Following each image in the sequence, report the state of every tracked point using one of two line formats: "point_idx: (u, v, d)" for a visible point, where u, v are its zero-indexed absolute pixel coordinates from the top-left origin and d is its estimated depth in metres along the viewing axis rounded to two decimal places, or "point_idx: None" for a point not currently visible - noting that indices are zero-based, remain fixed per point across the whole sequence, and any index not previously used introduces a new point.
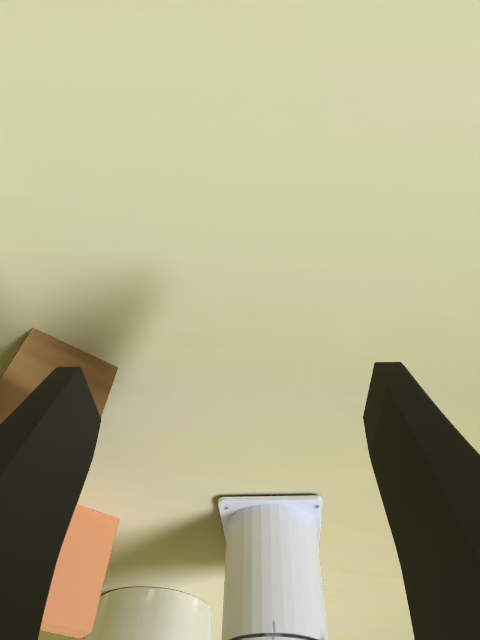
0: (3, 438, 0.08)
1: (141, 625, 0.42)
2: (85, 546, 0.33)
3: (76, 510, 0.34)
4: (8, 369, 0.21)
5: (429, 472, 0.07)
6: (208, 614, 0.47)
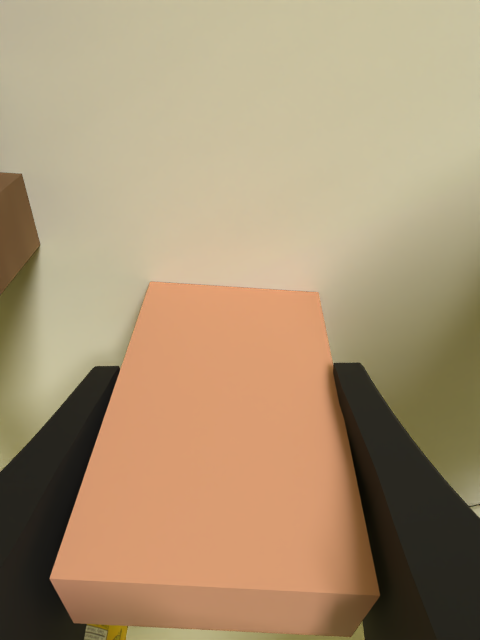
0: (51, 438, 0.08)
1: None
2: (246, 352, 0.11)
3: (193, 293, 0.12)
4: None
5: (373, 473, 0.07)
6: None
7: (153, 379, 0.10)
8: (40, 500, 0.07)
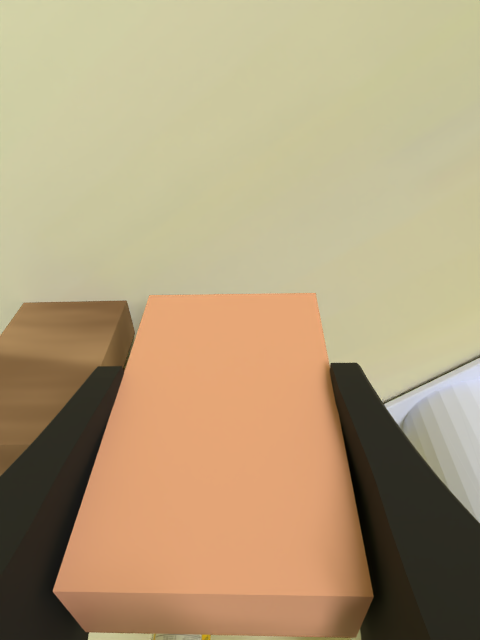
0: (55, 438, 0.08)
1: None
2: (242, 358, 0.11)
3: (191, 303, 0.13)
4: None
5: (369, 473, 0.07)
6: None
7: (152, 392, 0.10)
8: (44, 500, 0.07)
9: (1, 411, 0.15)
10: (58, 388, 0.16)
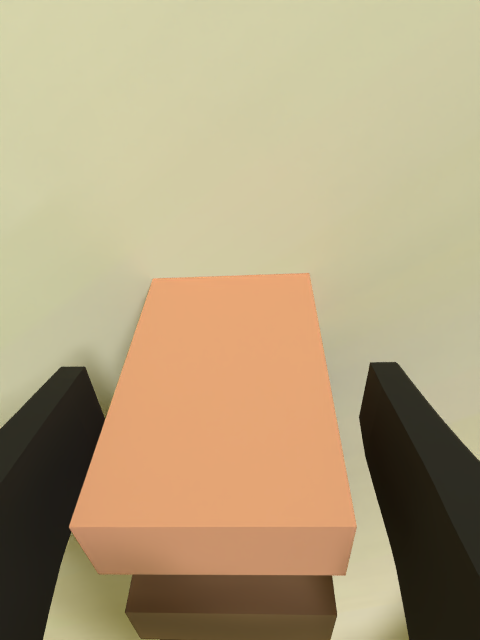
0: (8, 438, 0.08)
1: None
2: (240, 331, 0.11)
3: (192, 284, 0.13)
4: None
5: (424, 472, 0.07)
6: None
7: (156, 362, 0.11)
8: None
9: None
10: None
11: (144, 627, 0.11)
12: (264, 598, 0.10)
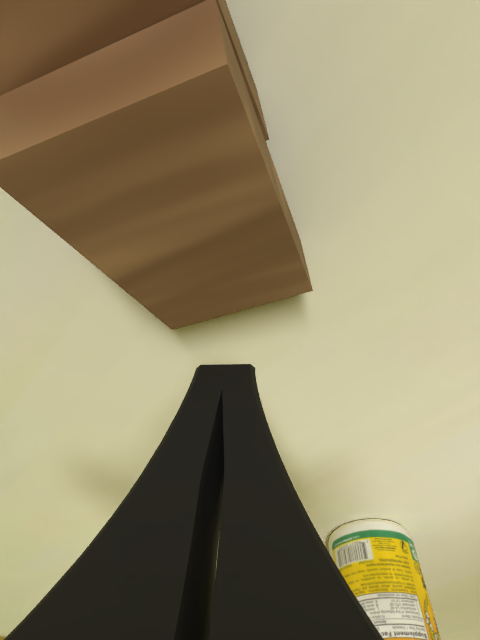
0: (185, 437, 0.08)
1: None
2: None
3: None
4: None
5: (225, 473, 0.07)
6: None
7: None
8: (197, 500, 0.07)
9: None
10: None
11: None
12: None
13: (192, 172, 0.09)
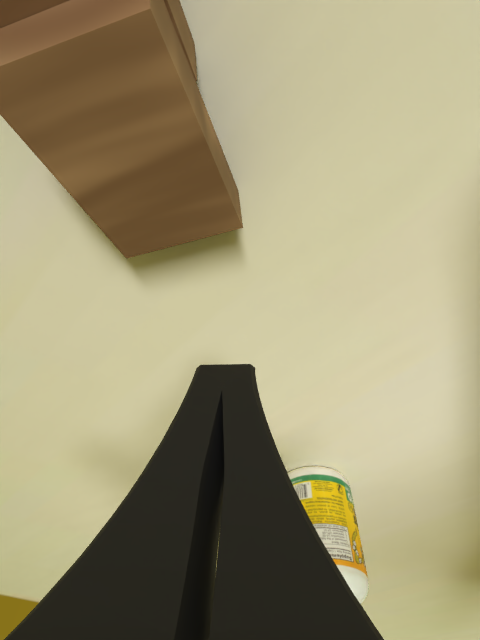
0: (185, 437, 0.08)
1: None
2: None
3: None
4: None
5: (224, 473, 0.07)
6: None
7: None
8: (197, 501, 0.07)
9: None
10: None
11: None
12: None
13: (131, 98, 0.12)
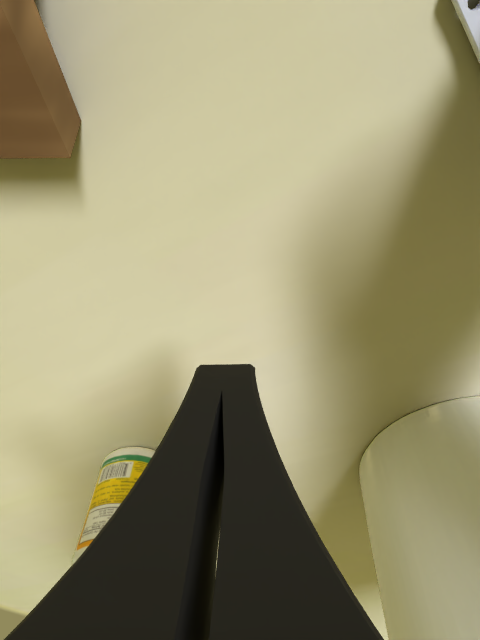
0: (185, 437, 0.08)
1: (444, 455, 0.23)
2: None
3: None
4: None
5: (225, 473, 0.07)
6: None
7: None
8: (197, 500, 0.07)
9: None
10: None
11: None
12: None
13: None
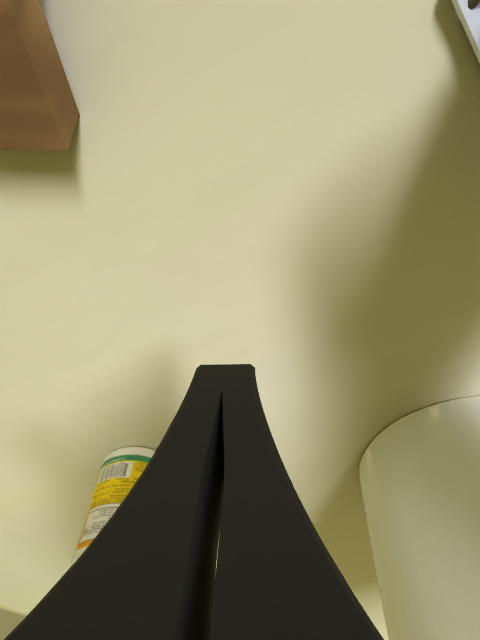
0: (185, 437, 0.08)
1: (444, 455, 0.23)
2: None
3: None
4: None
5: (225, 473, 0.07)
6: None
7: None
8: (197, 500, 0.07)
9: None
10: None
11: None
12: None
13: None
